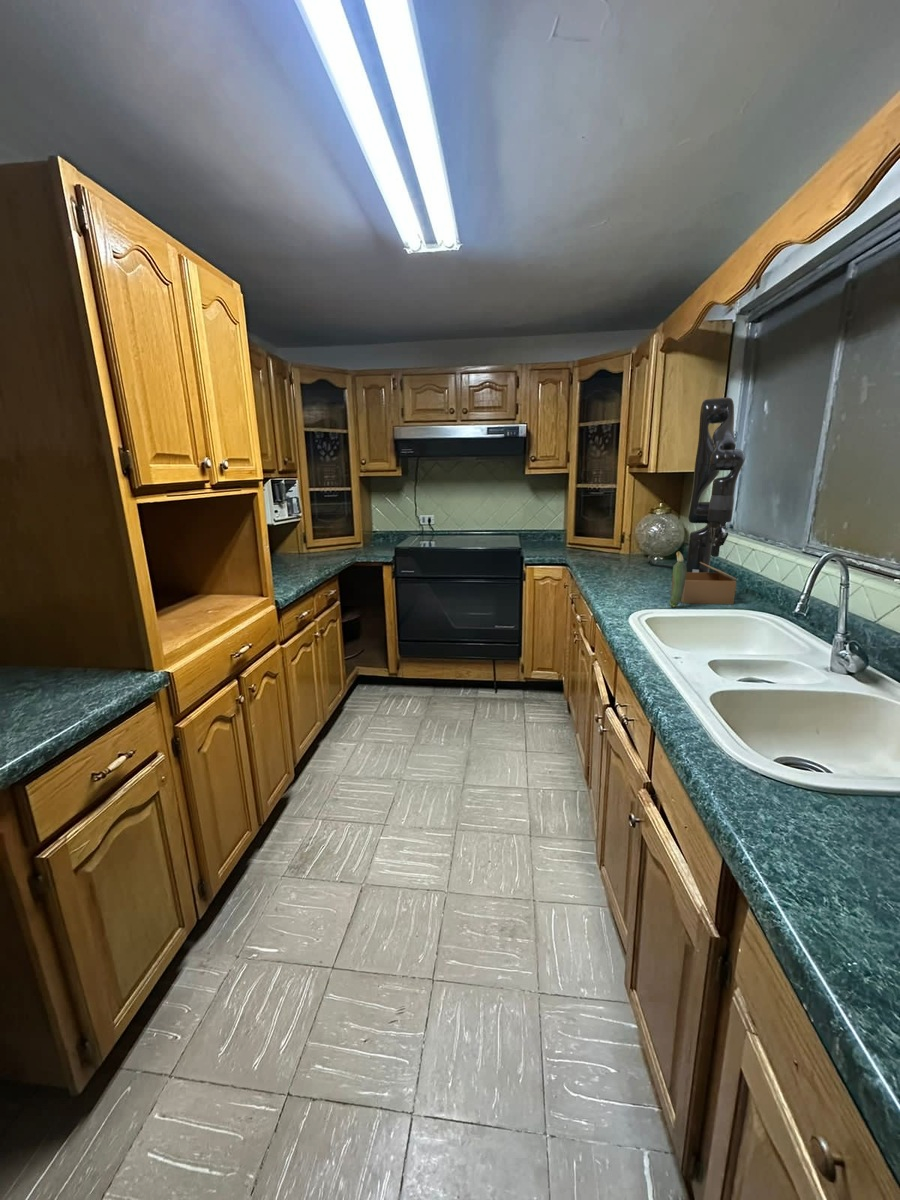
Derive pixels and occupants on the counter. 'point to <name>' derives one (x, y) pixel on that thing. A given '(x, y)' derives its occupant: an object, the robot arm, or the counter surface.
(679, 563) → the vegetable
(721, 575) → the carton
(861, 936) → the counter surface
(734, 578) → the flap
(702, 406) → the robot arm
